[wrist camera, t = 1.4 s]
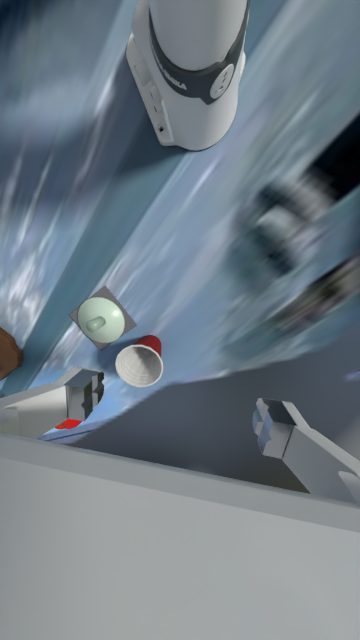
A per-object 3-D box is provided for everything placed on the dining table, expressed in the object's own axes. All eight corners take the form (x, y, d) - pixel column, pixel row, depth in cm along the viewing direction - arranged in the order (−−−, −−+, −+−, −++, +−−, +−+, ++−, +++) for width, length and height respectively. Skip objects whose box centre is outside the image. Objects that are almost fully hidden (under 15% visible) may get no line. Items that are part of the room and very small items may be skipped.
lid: (70, 314, 51) (56, 320, 46) (103, 287, 47) (91, 290, 42) (101, 349, 53) (91, 358, 48) (134, 326, 50) (127, 333, 45)
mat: (70, 314, 51) (69, 315, 51) (105, 285, 48) (104, 286, 47) (101, 349, 54) (100, 350, 53) (136, 324, 50) (135, 325, 50)
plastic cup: (175, 357, 52) (168, 384, 41) (140, 363, 54) (124, 391, 43) (164, 322, 49) (154, 341, 38) (128, 330, 51) (107, 350, 40)
